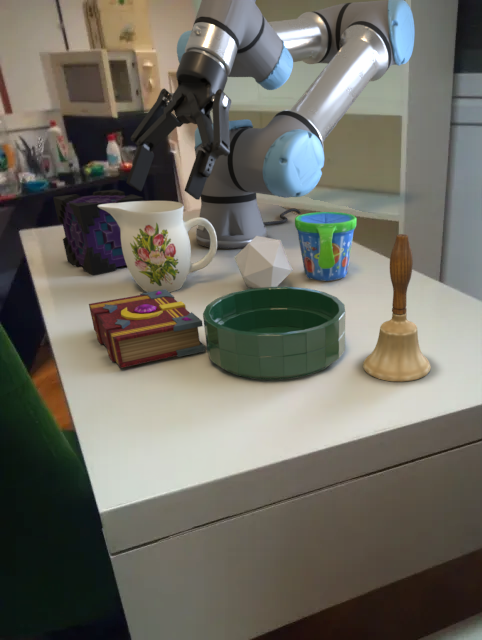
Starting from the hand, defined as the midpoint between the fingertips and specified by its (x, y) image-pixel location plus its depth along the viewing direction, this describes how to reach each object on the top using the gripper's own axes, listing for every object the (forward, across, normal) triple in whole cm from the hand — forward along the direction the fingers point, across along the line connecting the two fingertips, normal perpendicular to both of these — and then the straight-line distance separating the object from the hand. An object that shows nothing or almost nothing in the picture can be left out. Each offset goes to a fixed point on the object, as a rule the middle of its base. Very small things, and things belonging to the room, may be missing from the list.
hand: (161, 191), depth 94 cm
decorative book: (+24, +16, -6) cm, 29 cm away
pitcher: (+13, 0, +8) cm, 16 cm away
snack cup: (+1, +19, +24) cm, 31 cm away
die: (+8, +14, +16) cm, 22 cm away
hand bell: (+17, +48, +3) cm, 51 cm away
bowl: (+20, +33, -1) cm, 38 cm away
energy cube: (+11, -21, +12) cm, 27 cm away
